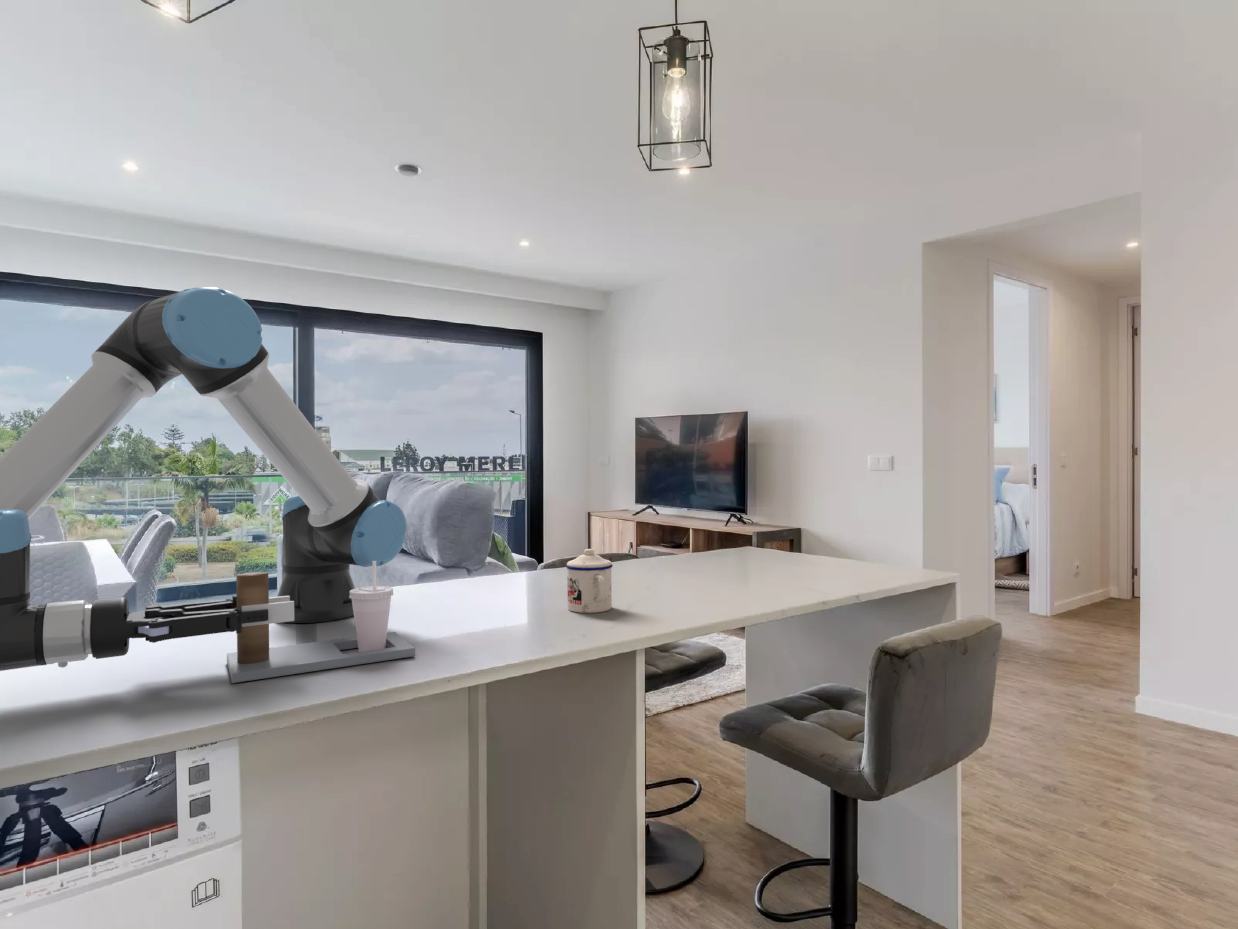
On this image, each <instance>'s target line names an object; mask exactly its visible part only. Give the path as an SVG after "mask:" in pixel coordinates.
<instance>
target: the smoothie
mask: <svg viewBox="0 0 1238 929" xmlns="http://www.w3.org/2000/svg"><path fill="white" fill-rule="evenodd" d="M371 567H372V568H371V569H372V585H371V586H370V585H369V586H360V587H355V589H352V590H350V596H349V598H351V599H352V606H353V613H354V615H353V619H354V626H355V633H356V635H355V636H356V637H357V642H358V652H363V651H370V650H377V649H384V648H386V647H387V646H386V637H387V633H388V627H389V625H388V624H389V619H390V609H391V601H392V596H393V595H394V588H393V587H392V586H386V585H377V566H376V561H372V566H371Z"/></svg>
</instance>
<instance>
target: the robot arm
mask: <svg viewBox="0 0 1238 929" xmlns="http://www.w3.org/2000/svg"><path fill="white" fill-rule="evenodd" d="M262 331H263V327H262V324H261V321H260V319H259V317H258V315H257V313H256V311H255V310H254V309H253V308H252V306H251V305H250V304H248V302H247V301H245V299H243V298H242V297H240V296H239V295H237V294H235V293H234V292H232V291H229V290H226V289H221V288H218V287H214V286H213V287H212V286H209V287H208V286H207V287H205V286H204V287H191V288H185V289H183V290H180V291H177V292H175V293H172V294H168V295H165V296H163V297H162V296H161V297H158V298H155V299H154V298H153V299H151V300H149V301H146V302H145V303H143V304H141V305H140V306H138V307H137V308H136V309H134V310H133V311H132V312H131V313H130V314H129V315H128V316H127V317H126V318H125V319H124V321H122V323H120V324H119V325H118V326H117V328H116V329H115V330H114V331H113V332H112V333H111V334H110V335H109V336H108V337H107V338H106V339H105V341H104V342H103V343H101V345H100V346H99V347H98V348H97V349H96V350H95V351H94V352H93V353H92V354H91V362H92V365H91V366H90V367H89V368H88V369H87V370H86V371H85V372H84V373H83V374H82V375H81V377H79V378H78V379H77V380H76V381H75V383H74V384H72V386H70V388H68V389H67V390H66V392H64V393H63V395H62V396H60V398H59V399H57V401H56V402H54V404H53V405H51V406H50V408H49V409H47V411H46V412H45V413H44V414H42V416H41V417H40V418H38V420H37V421H36V422H35V423H34V424H33V425H32V426H30V428H28V430H27V431H26V432H25V433H24V434H23V435H22V436H21V437H20V438H19V439H17V441H16V442H15V443H14V444H13V445H12V446H11V447H10V448H9V449H8V450H7V451H6V452H5V453H4V454H3V455H1V457H0V672H4V671H10V670H18V669H24V668H30V667H39V666H40V667H41V666H47V665H55V664H57V666H58V667H59V668H66V667H67V666H69V665H68V664H69V662H70V663H72V662H79V661H86V659H88V657H89V655H91V656H92V658H94V659H96V660H97V659H98V660H99V659H107V658H108V659H109V658H114V657H122V656H126V655H128V652H129V649H130V639H145V641H147V642H149V643H152V644H155V643H158V642H162V641H169V640H172V639H174V640H175V639H180V638H182V639H183V638H189V637H197V636H205V635H206V636H207V635H214V634H220V633H222V634H223V633H233V632H235V634H236V635H237V634H238V633H242V627H246V626H254V625H263V624H269V625H270V624H278V623H287V624H289V623H290V624H292V623H293V624H306V623H309V624H311V623H321V622H322V623H323V622H329V621H330V622H331V621H337V620H340V619H346V618H350V617H352V616H353V617H354V613H353V606H352V599H351V598H349V596H350V590H352V589H355V588H356V586H355V584H354V581H353V578H352V576H351V570H350V569H351V568H350V565H352V566H353V565H354V566H359V567H363V568H368V567H372V561H376V567H381V566H384V565H386V564H388V563H389V562H392V561H393V560H394V559H395V558H396V557H397V556H398V554H399V553H400V552H401V550H402V548H403V546H404V545H405V542H406V532H407V531H408V528H407V527H408V525H407V518H406V516H405V514H404V511H403V510H402V508H401V507H400V506H399V505H398V504H396V503H395V502H392V501H390V500H387V499H382V500H381V499H380V498H379V496H377V494H376V493H375V491H374V490H373V488H372V487H371V485H369V483H368V482H367V481H366V480H364V479H360V478H359V479H357V478H352V476H351V475H350V473H348V471H347V470H346V469H345V467H344V466H343V464H342V463H341V462H340V461H339V459H338V458H337V457H336V456H335V454H334V453H333V452H332V450H331V449H330V447H328V446H329V445H328V444H327V443H325V441H324V440H323V439H322V437H321V436H320V435H319V433H318V432H317V431H316V429H314V427H313V425H312V424H311V423H310V422H309V421H308V419H307V417H306V416H305V415H304V413H303V412H302V411H301V410H300V408H299V407H298V406H297V405H296V403H295V402H294V401H293V399H292V398H291V397H290V395H289V394H288V393H287V392H286V390H285V389H284V388H283V387H282V385H281V384H280V382H279V381H278V380H277V378H276V377H275V376H274V374H273V373H272V372H271V371H270V370H269V368H268V362H269V359H270V353H269V351H268V350H267V349H266V347H265V346H264V345H263V337H262ZM181 375H183V376H184V378H185V379H186V380H187V381H188V383H189V384H190V385H191V387H193V388H194V390H195V391H197V392H196V393H198V394H199V395H200V396H203V397H208V398H214V399H217V400H218V401H219V403H220V404H221V405H222V406H223V407H224V409H226V411H227V412H228V413H229V414H230V416H231V417H232V418H233V419H234V421H235V422H236V423H237V424H238V426H240V428H241V429H242V430H243V431H244V432H245V434H246V435H247V436H248V437H249V438H250V439H251V441H252V442H253V443H254V444H255V445H256V447H257V448H258V449H259V450H260V451H261V453H263V455H264V457H266V459H267V460H268V461H269V462H270V463H271V465H272V466H273V467H274V468H275V469H276V470H277V472H278V473H279V474H280V476H281V477H282V478H283V479H284V480H285V481H286V482H287V483H288V485H290V487H291V488H292V490H294V492H295V494H297V495H293V496H289V497H287V498H286V499H285V500H284V502H283V507H282V515H281V520H282V547H283V548H282V551H283V552H282V554H283V556H282V558H283V576H282V581H281V583H280V587H279V590H278V592H277V595H276V596H273V597H272V596H270V597H269V603H267V604H258V605H248V606H242V609H239V608H237V594H236V595H232V598H226V599H218V600H207V601H206V600H205V601H195V602H185V603H174V604H155V605H149V606H147V605H146V607H145V610H140V611H134V612H130V605H129V604H130V603H129V599H128V598H127V597H125V596H117V597H116V596H115V597H105V598H96V599H95V600H93V601H92V603H89V602H88V601H87V600H86V599H77V600H67V601H57V602H47V603H41V604H31V542H32V534H31V530H30V523H29V520H30V519H31V518H32V517H33V516H34V515H35V513H37V511H39V509H40V508H41V507H42V506H43V505H44V504H45V503H46V502H47V501H48V500H49V499H50V498H51V496H52V495H53V494H54V493H55V492H56V491H57V490H58V489H59V488H60V487H61V486H62V484H63V483H64V482H66V480H67V479H68V478H69V477H70V476H71V475H72V474H73V472H75V470H76V469H78V467H79V466H80V465H81V464H82V463H83V461H85V459H86V458H88V456H89V455H91V453H93V451H94V450H95V449H96V447H98V445H100V443H101V442H102V441H103V440H104V439H105V438H106V437H107V436H108V435H109V433H111V431H112V430H113V429H115V427H116V426H117V425H118V424H119V423H120V422H121V421H122V420H123V419H124V418H125V416H126V415H127V414H128V413H129V412H130V411H131V410H132V409H134V407H135V406H136V404H137V403H138V402H139V401H140V400H141V399H142V398H152V397H154V396H155V395H156V394H157V392H158V391H159V390H160V389H161V388H162V387H164V386H165V385H166V384H167V383H169V382H170V381H172V380H173V379H175V378H177V377H179V376H181Z"/></svg>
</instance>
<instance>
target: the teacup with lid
mask: <svg viewBox="0 0 1238 929" xmlns="http://www.w3.org/2000/svg"><path fill="white" fill-rule="evenodd" d="M583 553H584V554H581V555H579V556H577V557H576V558H574V559H572V560H568V561H567V563H566V565H565V567H566V569H567V571H566V572H567V584H566V585H567V609H568V611H570V612H574V613H581V614H595V613H596V614H597V613H602V612H607V611H610V610H611V609H612V605H613V604H612V601H613V600H612V592H613V591H612V568H613V563H612V561H611V560H608V559H606V558H603V557H602V556H600V555H598V554H596V553H595V549H593V548H586V549H584V551H583Z"/></svg>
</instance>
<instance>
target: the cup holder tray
mask: <svg viewBox="0 0 1238 929" xmlns="http://www.w3.org/2000/svg"><path fill="white" fill-rule="evenodd" d="M235 583H236V595H237V608H239V609H242V606H248V605H258V604H267V603H269V598H270V597H269V596H270V595H269V591H270V590H269V587H270V586H269V572H263V571H259V572H257V571H256V572H245V573H240V574H236V582H235ZM357 648H358V642H357V636H351V637H343V638H338V639H337V638H336V639H329V640H322V641H314V642H306V643H296V644H289V645H283V646H281V645H280V646H274V647H270V624H263V625H254V626H246V627H242V633H238V634H236V649H237V650H236V652H228V653H227V652H226V663H227V667H228V673H229V676H230V681H231V684H235V683H241V682H247V681H255V680H261V679H270V678H277V677H282V676H288V675H289V676H291V675H295V674H296V675H297V674H303V673H309V672H316V671H324V670H329V669H337V668H342V667H343V668H345V667H350V666H358V665H362V664H363V665H364V664H371V663H377V662H383V661H390V660H391V661H393V660H396V659H397V660H398V659H403V658H410V657H411V658H412V657H416V648H415V647H414V646H413V645H412V644H410V643H409V642H408V640H406V639H404V638H403V637H402V636H401V635H399V634H398V633H397V632H395V631H392V632H387V637H386V646H385V648H384V649H377V650H370V651H363V652H359V651H358V652H350V653H344V654H343V652H341V651H343V650H349V649H350V650H351V649H357Z"/></svg>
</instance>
